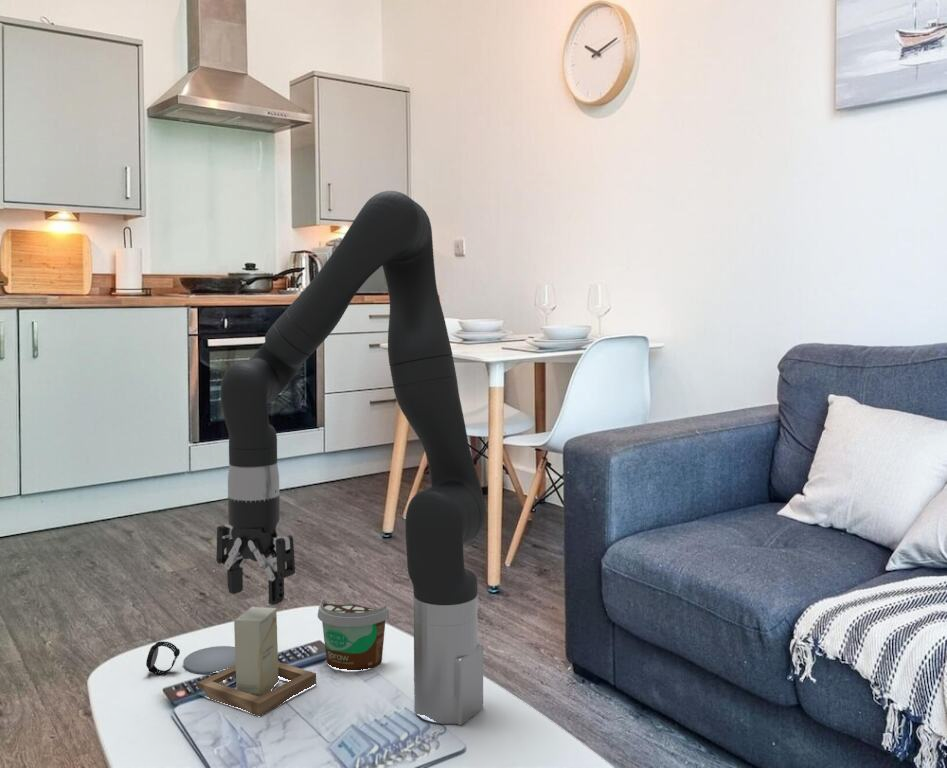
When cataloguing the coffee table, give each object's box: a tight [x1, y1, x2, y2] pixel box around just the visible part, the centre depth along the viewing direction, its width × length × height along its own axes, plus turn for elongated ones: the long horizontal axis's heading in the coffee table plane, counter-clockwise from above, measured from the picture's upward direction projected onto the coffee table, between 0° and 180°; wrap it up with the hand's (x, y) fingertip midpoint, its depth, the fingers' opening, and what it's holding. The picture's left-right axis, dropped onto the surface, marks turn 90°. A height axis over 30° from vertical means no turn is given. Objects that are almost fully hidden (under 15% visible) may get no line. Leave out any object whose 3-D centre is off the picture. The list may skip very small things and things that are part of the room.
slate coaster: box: [183, 645, 236, 675], centre depth 142 cm, size 10×10×1 cm
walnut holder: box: [196, 661, 317, 717], centre depth 131 cm, size 13×12×2 cm
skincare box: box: [233, 606, 280, 697], centre depth 131 cm, size 6×4×12 cm
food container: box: [317, 597, 390, 670], centre depth 140 cm, size 12×6×10 cm, turn 73°
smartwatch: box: [145, 641, 181, 676], centre depth 137 cm, size 4×5×5 cm
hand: (255, 597), depth 130 cm, fingers open, 8 cm apart
